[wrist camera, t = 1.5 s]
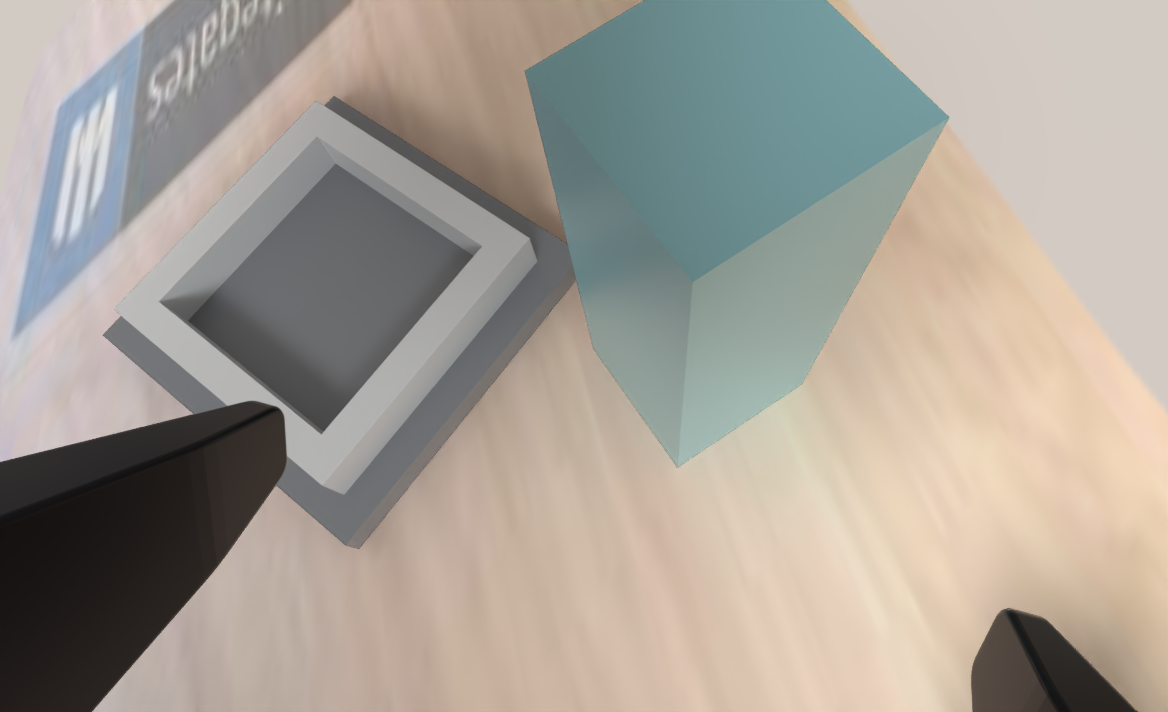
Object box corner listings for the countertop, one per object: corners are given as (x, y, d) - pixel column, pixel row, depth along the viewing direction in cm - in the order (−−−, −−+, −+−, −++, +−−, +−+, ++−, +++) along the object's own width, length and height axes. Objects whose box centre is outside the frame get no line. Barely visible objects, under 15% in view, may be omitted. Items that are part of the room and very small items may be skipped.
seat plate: (358, 548, 22) (323, 538, 20) (123, 346, 25) (68, 317, 23) (585, 268, 25) (577, 229, 22) (345, 114, 28) (315, 66, 25)
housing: (677, 467, 22) (693, 281, 10) (593, 348, 24) (524, 70, 12) (802, 383, 23) (949, 117, 11) (711, 272, 24) (756, -66, 12)
